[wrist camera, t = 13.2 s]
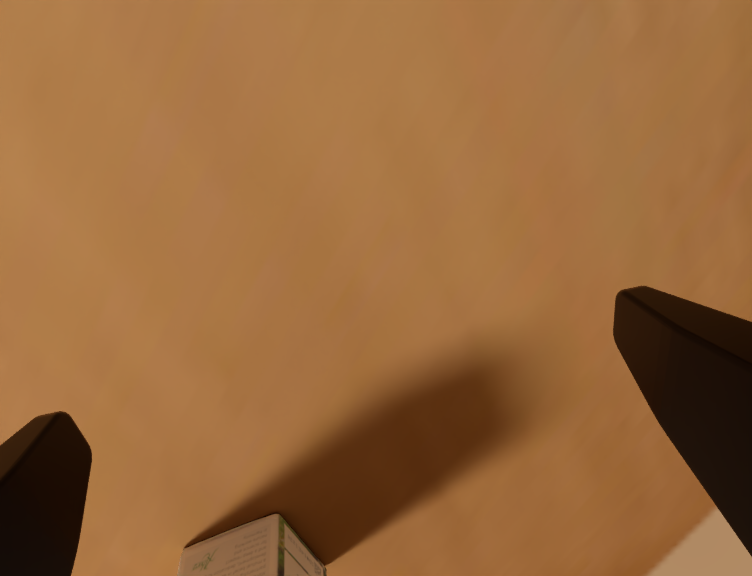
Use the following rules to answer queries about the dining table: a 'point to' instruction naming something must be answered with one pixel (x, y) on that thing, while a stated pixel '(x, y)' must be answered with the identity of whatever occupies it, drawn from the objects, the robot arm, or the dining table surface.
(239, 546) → the syrup box
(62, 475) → the robot arm
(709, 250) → the dining table surface
